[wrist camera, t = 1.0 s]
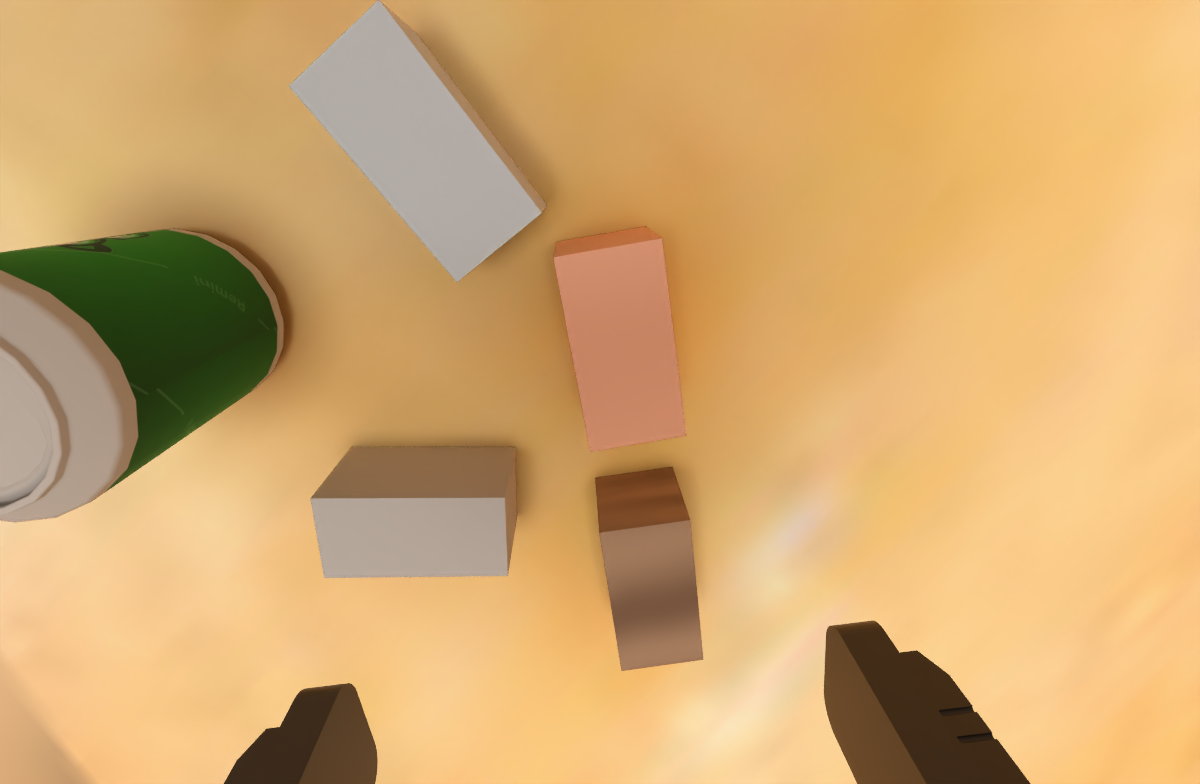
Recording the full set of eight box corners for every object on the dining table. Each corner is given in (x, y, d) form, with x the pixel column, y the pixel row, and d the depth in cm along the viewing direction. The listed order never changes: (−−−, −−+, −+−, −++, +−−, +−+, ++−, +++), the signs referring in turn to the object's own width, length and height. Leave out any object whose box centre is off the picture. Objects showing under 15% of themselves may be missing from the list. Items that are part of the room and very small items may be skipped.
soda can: (247, 204, 25) (-24, 233, 13) (323, 367, 27) (150, 505, 16) (82, 252, 25) (-315, 319, 14) (173, 409, 28) (-98, 571, 16)
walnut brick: (595, 476, 30) (599, 532, 25) (671, 465, 30) (690, 520, 25) (614, 599, 33) (621, 671, 28) (684, 590, 33) (703, 659, 28)
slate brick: (362, 515, 30) (324, 577, 26) (352, 445, 29) (310, 498, 24) (517, 514, 31) (507, 575, 26) (515, 445, 29) (504, 497, 25)
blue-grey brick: (344, 102, 24) (288, 86, 19) (417, 34, 23) (378, -1, 18) (477, 262, 26) (456, 282, 21) (546, 205, 25) (541, 212, 21)
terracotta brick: (556, 241, 26) (553, 257, 21) (645, 226, 26) (661, 238, 21) (587, 406, 29) (590, 452, 24) (667, 392, 29) (686, 435, 24)
